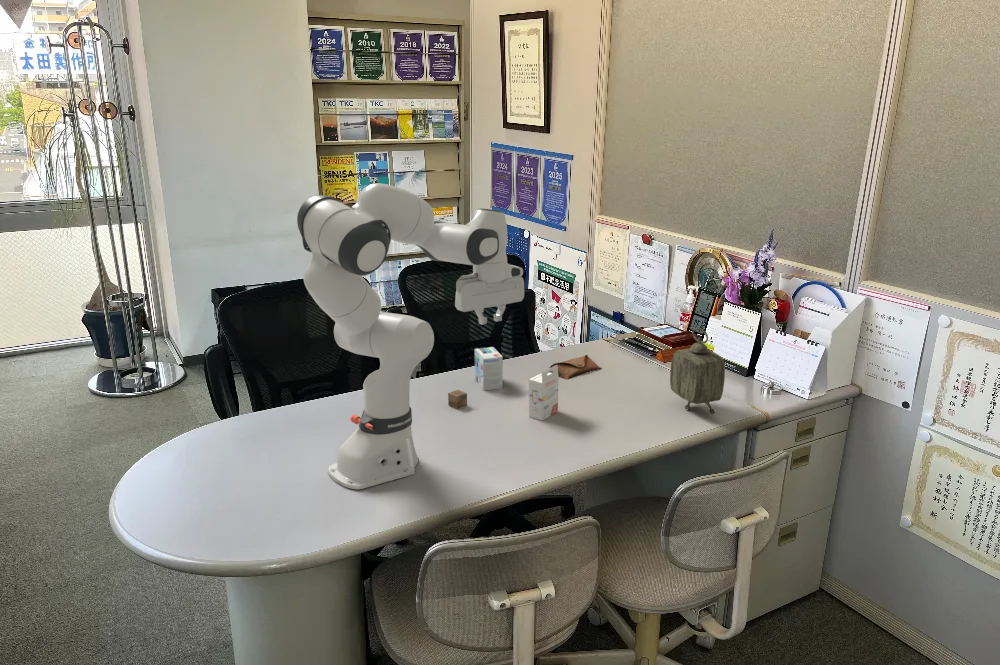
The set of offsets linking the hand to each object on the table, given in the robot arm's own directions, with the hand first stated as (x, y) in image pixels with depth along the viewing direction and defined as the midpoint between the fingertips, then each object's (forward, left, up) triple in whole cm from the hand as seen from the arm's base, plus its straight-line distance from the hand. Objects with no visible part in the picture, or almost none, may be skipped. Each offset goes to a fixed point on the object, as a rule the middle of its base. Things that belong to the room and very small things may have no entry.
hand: (490, 322), depth 191 cm
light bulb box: (+24, +26, -31) cm, 47 cm away
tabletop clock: (+54, -31, -31) cm, 69 cm away
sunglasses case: (+53, +15, -32) cm, 64 cm away
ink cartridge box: (+19, -3, -31) cm, 36 cm away
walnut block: (+5, +19, -31) cm, 37 cm away
